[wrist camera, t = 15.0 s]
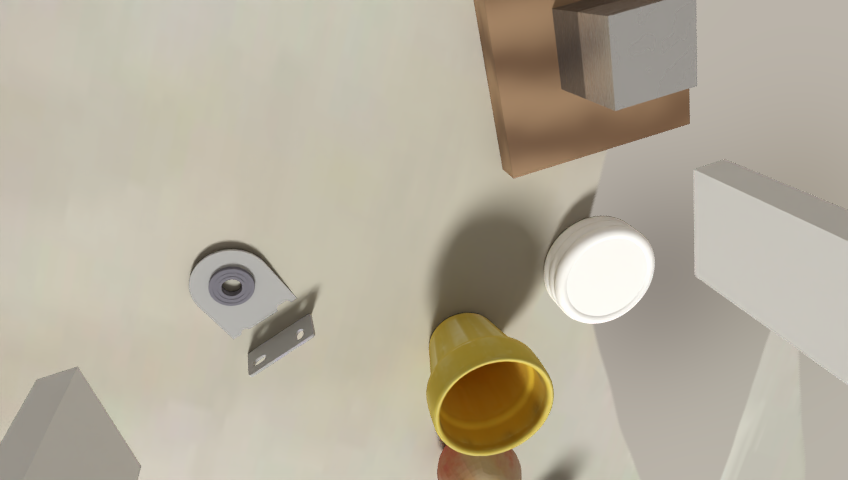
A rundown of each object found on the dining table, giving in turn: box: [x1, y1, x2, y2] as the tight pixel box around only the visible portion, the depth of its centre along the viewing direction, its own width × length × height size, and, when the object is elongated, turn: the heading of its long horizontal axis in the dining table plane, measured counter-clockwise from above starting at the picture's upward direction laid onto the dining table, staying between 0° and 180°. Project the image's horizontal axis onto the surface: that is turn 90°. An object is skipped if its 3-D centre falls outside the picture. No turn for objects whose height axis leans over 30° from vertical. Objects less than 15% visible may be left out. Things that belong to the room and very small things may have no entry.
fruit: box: [437, 445, 521, 480], centre depth 59 cm, size 8×8×8 cm
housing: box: [552, 0, 697, 111], centre depth 41 cm, size 6×6×8 cm
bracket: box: [189, 249, 315, 377], centre depth 48 cm, size 7×10×4 cm, turn 31°
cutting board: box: [474, 0, 690, 178], centre depth 46 cm, size 18×16×2 cm
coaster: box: [544, 216, 655, 324], centre depth 55 cm, size 10×10×4 cm
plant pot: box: [426, 313, 554, 456], centre depth 52 cm, size 10×10×10 cm
